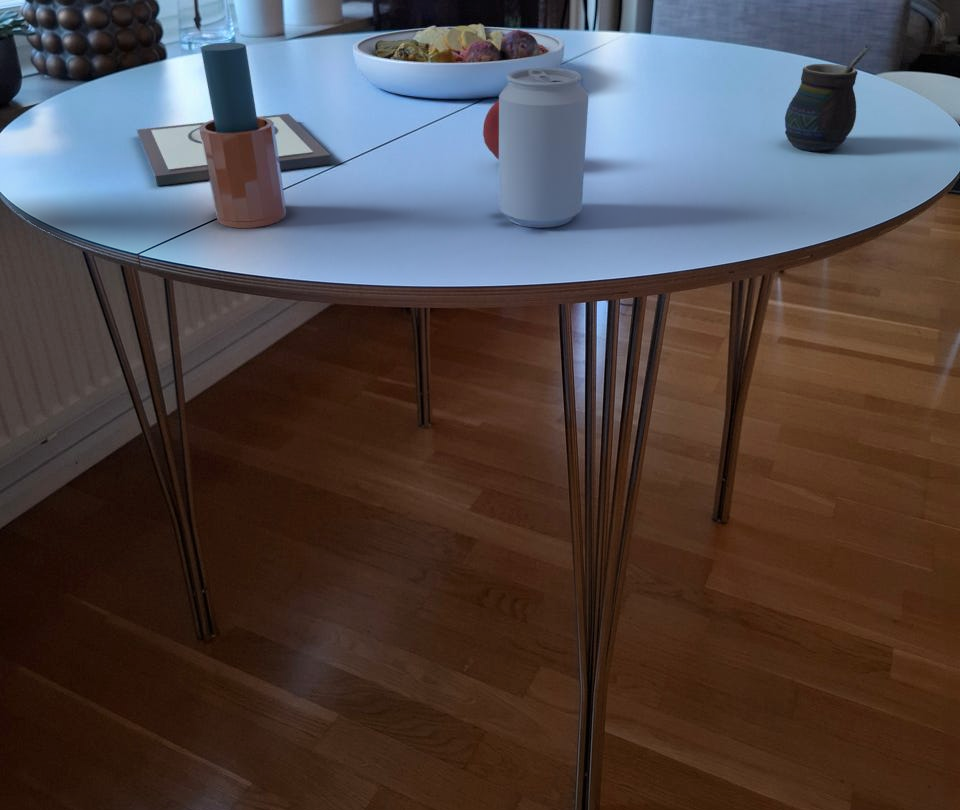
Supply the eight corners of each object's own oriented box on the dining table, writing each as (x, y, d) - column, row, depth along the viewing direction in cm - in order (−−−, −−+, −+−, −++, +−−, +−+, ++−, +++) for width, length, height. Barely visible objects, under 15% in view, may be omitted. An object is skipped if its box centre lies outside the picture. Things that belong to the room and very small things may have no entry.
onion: (549, 167, 90) (552, 84, 86) (511, 179, 87) (512, 94, 82) (510, 156, 94) (511, 76, 89) (472, 167, 90) (470, 85, 86)
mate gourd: (766, 141, 97) (783, 44, 91) (820, 134, 99) (841, 39, 94) (807, 158, 92) (828, 55, 86) (864, 150, 94) (889, 50, 88)
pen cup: (223, 232, 75) (205, 137, 71) (212, 210, 80) (194, 120, 75) (293, 222, 77) (279, 129, 73) (278, 201, 82) (265, 113, 77)
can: (530, 237, 74) (534, 86, 67) (482, 213, 79) (481, 70, 72) (598, 220, 77) (608, 74, 70) (547, 198, 82) (552, 60, 75)
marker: (234, 218, 76) (204, 51, 69) (227, 206, 79) (197, 44, 71) (274, 213, 78) (249, 48, 70) (266, 201, 80) (241, 41, 72)
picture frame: (157, 186, 86) (154, 173, 86) (138, 138, 101) (136, 127, 100) (331, 164, 92) (330, 152, 91) (289, 122, 107) (288, 111, 106)
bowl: (314, 82, 125) (307, 21, 120) (461, 54, 142) (460, -1, 138) (456, 116, 108) (455, 47, 103) (605, 79, 125) (609, 18, 120)
